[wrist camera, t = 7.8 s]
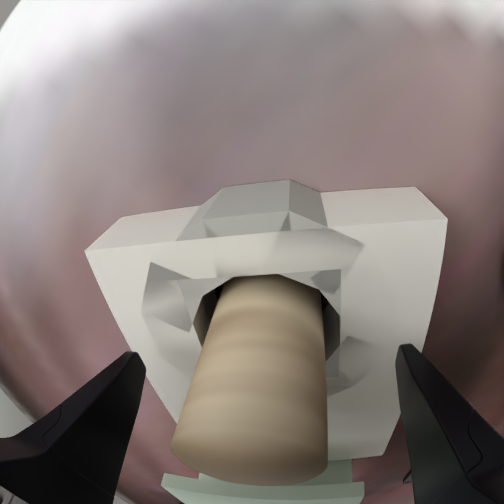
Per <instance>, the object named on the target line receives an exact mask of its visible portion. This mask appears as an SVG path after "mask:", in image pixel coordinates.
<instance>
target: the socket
mask: <svg viewBox="0 0 504 504" xmlns="http://www.w3.org/2000/svg"><path fill="white" fill-rule="evenodd" d="M447 221H448V219H447V217H446V216H445V215H444V214H443V213H442V212H441V211H440V210H439V209H438V208H437V207H436V206H435V205H434V204H433V203H432V202H431V201H430V200H429V199H428V198H427V197H425V196H424V195H423V194H422V193H421V192H420V191H419V190H418V189H417V188H416V187H399V188H381V189H364V190H349V191H336V192H323V193H320V192H317V191H315V190H313V189H311V188H308V187H306V186H304V185H301V184H299V183H297V182H294V181H292V180H282V181H272V182H263V183H254V184H246V185H238V186H230V187H224V188H222V189H221V190H220V191H218V192H217V193H216V194H215V195H213V196H212V197H211V198H210V199H208V200H207V201H206V202H205V203H203V204H202V205H200V206H193V207H185V208H178V209H171V210H164V211H157V212H151V213H144V214H138V215H131V216H125V217H121V218H120V219H119V220H118V221H117V222H115V223H114V224H113V225H112V226H111V227H110V228H109V229H108V230H107V231H105V232H104V233H103V234H102V235H101V236H100V237H99V238H98V239H97V240H96V241H95V242H94V243H93V244H92V245H90V246H89V247H88V248H87V249H86V250H85V253H86V256H87V258H88V261H89V263H90V266H91V268H92V270H93V273H94V275H95V277H96V279H97V282H98V284H99V286H100V288H101V290H102V293H103V295H104V297H105V299H106V301H107V303H108V305H109V307H110V309H111V312H112V314H113V316H114V318H115V320H116V322H117V324H118V325H119V327H120V329H121V331H122V333H123V335H124V337H125V339H126V341H127V343H128V344H129V346H130V348H131V350H132V351H134V352H137V353H138V354H139V355H140V357H141V359H142V361H143V362H144V364H145V366H146V376H147V378H148V379H149V381H150V383H151V384H152V386H153V388H154V389H155V391H156V392H157V394H158V396H159V397H160V399H161V400H162V402H163V404H164V405H165V407H166V408H167V410H168V411H169V413H170V414H171V416H172V417H173V419H174V420H175V422H176V423H178V420H179V417H180V414H181V411H182V408H183V405H184V402H185V398H186V395H187V392H188V389H189V386H190V383H191V380H192V377H193V374H194V371H195V368H196V365H197V362H198V359H199V356H200V353H201V350H202V347H203V344H204V341H205V338H206V335H207V332H208V329H209V326H210V323H211V320H212V317H213V314H214V311H215V308H216V306H217V303H218V300H217V296H216V293H215V288H216V287H218V286H219V285H221V284H223V283H224V282H226V281H227V280H229V279H231V278H232V277H236V276H252V275H267V274H280V275H283V276H285V277H288V278H291V279H293V280H296V281H298V282H301V283H303V284H306V285H309V286H311V287H314V288H316V289H319V290H320V291H321V293H322V294H323V295H324V296H325V298H326V299H327V300H328V301H329V303H328V305H327V306H326V308H325V309H324V311H323V312H322V317H323V331H324V346H325V364H326V385H327V417H328V461H332V460H345V459H355V458H364V457H372V456H380V455H383V453H384V451H385V449H386V447H387V445H388V442H389V440H390V438H391V436H392V433H393V431H394V429H395V426H396V424H397V421H398V419H399V416H400V414H401V412H400V406H399V396H398V387H397V378H396V370H395V360H396V356H397V351H398V347H399V345H401V344H407V343H411V344H413V345H414V346H415V347H416V348H417V349H418V350H419V351H420V352H422V349H423V346H424V342H425V338H426V335H427V331H428V327H429V323H430V319H431V315H432V310H433V306H434V302H435V297H436V292H437V287H438V282H439V277H440V271H441V265H442V259H443V253H444V246H445V238H446V230H447Z"/></svg>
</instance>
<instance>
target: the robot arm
mask: <svg viewBox="0 0 504 504" xmlns="http://www.w3.org/2000/svg"><path fill="white" fill-rule="evenodd" d="M395 370H396V378H397V387H398V396H399V406H400V412H401V416H402V421H403V426H404V431H405V436H406V441H407V447H408V452H409V458H410V464H411V470H410V472H409V473H408V474H407V476H406V477H405V478H404V479H403V484H406V483H411V482H412V483H413V492H414V502H415V504H504V438H503V437H502V436H501V435H500V434H499V433H498V432H496V431H495V430H494V429H493V428H492V427H491V426H490V425H489V424H488V423H487V422H486V421H485V420H484V419H483V418H482V417H481V416H480V415H479V413H478V412H477V411H476V410H475V409H474V410H473V407H472V406H471V405H470V404H469V403H468V402H467V400H466V399H465V398H464V397H463V396H462V395H461V394H460V393H459V392H458V391H457V390H456V389H455V388H454V387H453V386H452V384H451V383H450V382H449V381H448V380H447V379H446V378H445V377H444V376H443V375H442V374H441V373H440V372H439V371H438V370H437V369H436V368H435V367H434V366H433V365H432V364H431V363H430V362H429V361H428V359H427V358H426V357H425V356H424V355H423V354H422V353H421V352H420V351H419V350H418V349H417V348H416V347H415V346H414V345H413V344H411V343H407V344H401V345H399V347H398V351H397V356H396V360H395ZM145 375H146V366H145V364H144V362H143V361H142V359H141V357H140V355H139V354H138V353H137V352H134V351H127V352H125V353H124V354H123V355H121V356H120V357H119V358H118V359H116V360H115V361H114V362H113V363H111V364H110V365H109V366H108V367H106V368H105V369H104V370H103V371H101V372H100V373H99V374H97V375H96V376H95V377H94V378H92V379H91V380H90V381H89V382H87V383H86V384H85V385H84V386H82V387H81V388H80V389H79V390H77V391H76V392H75V393H74V394H72V395H71V396H70V397H69V398H67V399H66V400H65V401H63V402H62V404H60V405H58V406H57V407H56V408H55V409H53V410H52V411H51V412H49V413H48V414H47V415H45V416H44V417H42V418H41V419H40V420H38V421H37V422H35V423H34V424H32V425H31V426H29V427H27V428H26V429H24V430H23V431H21V432H20V433H19V434H17V435H15V436H12V437H9V438H0V504H113V500H114V495H115V492H116V488H117V484H118V480H119V476H120V472H121V469H122V465H123V461H124V458H125V454H126V450H127V447H128V443H129V440H130V436H131V433H132V430H133V426H134V423H135V419H136V416H137V413H138V409H139V405H140V401H141V396H142V390H143V385H144V380H145Z"/></svg>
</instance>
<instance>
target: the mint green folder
mask: <svg viewBox="0 0 504 504" xmlns="http://www.w3.org/2000/svg"><path fill="white" fill-rule="evenodd" d="M161 486H162V487H163V488H165V489H166V490H167V491H168V492H170V493H171V494H172V495H174V496H175V497H176V498H178V499H179V500H180V501H182V502H183V503H184V504H360V502H361V501H362V499H363V497H364V481H363V482H354V483H352V459H345V460H332V461H328V466H327V468H326V470H325V471H324V472H323V473H322V474H320V475H319V476H317V477H315V478H313V479H310V480H308V481H304V482H301V483H296V484H291V485H282V486H253V485H244V484H238V483H232V482H228V481H223V480H220V479H216V478H213V477H210V476H207V475H205V474H202V473H200V474H199V478H198V479H194V478H188V477H182V476H177V475H171V474H166V473H164V476H163V479H162V483H161Z"/></svg>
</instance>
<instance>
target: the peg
mask: <svg viewBox="0 0 504 504" xmlns="http://www.w3.org/2000/svg"><path fill="white" fill-rule="evenodd" d="M171 450H172V452H173V454H174V455H175V456H176V457H177V458H178V459H179V460H180V461H181V462H182V463H184V464H185V465H187V466H188V467H190V468H192V469H194V470H196V471H198V472H200V473H202V474H205V475H207V476H210V477H213V478H216V479H220V480H223V481H228V482H232V483H238V484H244V485H253V486H282V485H291V484H296V483H301V482H304V481H308V480H310V479H313V478H315V477H317V476H319V475H320V474H322V473H323V472H324V471H325V470H326V468H327V466H328V417H327V385H326V364H325V346H324V331H323V317H322V304H321V292H320V290H319V289H316V288H314V287H311V286H309V285H306V284H303V283H301V282H298V281H296V280H293V279H291V278H288V277H285V276H283V275H280V274H267V275H252V276H236V277H232V278H231V279H229V280H227V281H226V282H224V285H223V288H222V291H221V294H220V297H219V300H218V303H217V306H216V308H215V311H214V314H213V317H212V320H211V323H210V326H209V329H208V332H207V335H206V338H205V341H204V344H203V347H202V350H201V353H200V356H199V359H198V362H197V365H196V368H195V371H194V374H193V377H192V380H191V383H190V386H189V389H188V392H187V395H186V398H185V402H184V405H183V408H182V411H181V414H180V417H179V420H178V423H177V426H176V429H175V433H174V436H173V439H172V442H171Z"/></svg>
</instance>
